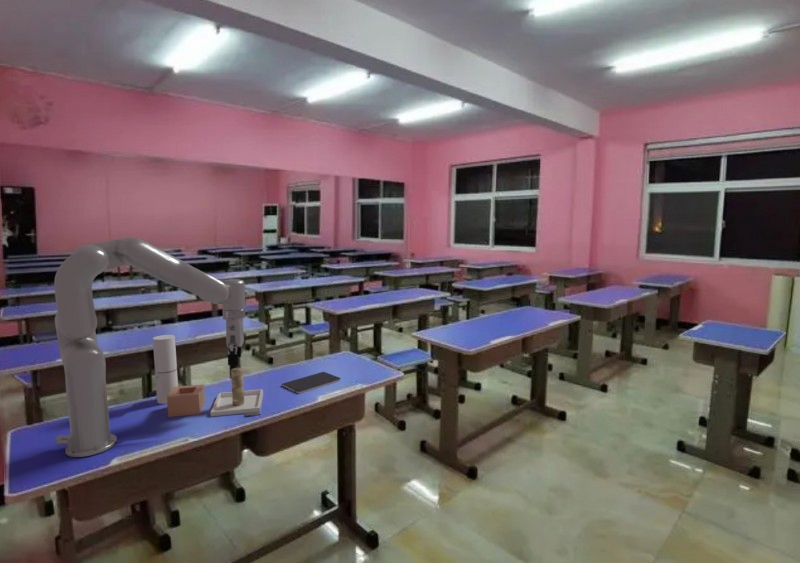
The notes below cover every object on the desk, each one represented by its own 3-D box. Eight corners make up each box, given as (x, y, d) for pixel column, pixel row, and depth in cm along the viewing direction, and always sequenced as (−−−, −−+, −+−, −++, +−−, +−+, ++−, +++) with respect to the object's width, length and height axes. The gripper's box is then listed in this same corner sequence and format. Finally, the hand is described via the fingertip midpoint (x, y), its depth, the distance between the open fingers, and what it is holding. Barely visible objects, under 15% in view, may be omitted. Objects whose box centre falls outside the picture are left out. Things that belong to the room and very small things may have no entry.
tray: (210, 419, 149) (210, 412, 149) (219, 399, 167) (219, 392, 166) (259, 414, 153) (259, 407, 153) (263, 395, 170) (262, 389, 170)
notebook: (323, 374, 196) (281, 387, 180) (323, 371, 196) (281, 383, 180) (341, 381, 187) (298, 395, 172) (341, 378, 187) (298, 391, 172)
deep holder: (168, 419, 149) (166, 397, 148) (175, 407, 159) (174, 386, 158) (199, 416, 151) (198, 394, 150) (205, 405, 161) (204, 384, 160)
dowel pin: (231, 406, 157) (230, 371, 156) (233, 402, 161) (231, 368, 159) (243, 405, 158) (242, 370, 157) (244, 401, 162) (243, 367, 160)
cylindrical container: (169, 407, 159) (165, 340, 156) (152, 405, 161) (148, 339, 158) (183, 399, 166) (179, 335, 163) (166, 398, 168) (162, 334, 164)
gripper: (242, 318, 148) (243, 367, 150) (247, 309, 165) (248, 354, 167) (218, 318, 146) (219, 368, 148) (226, 310, 163) (227, 354, 165)
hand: (234, 360), depth 157 cm, fingers open, 9 cm apart
